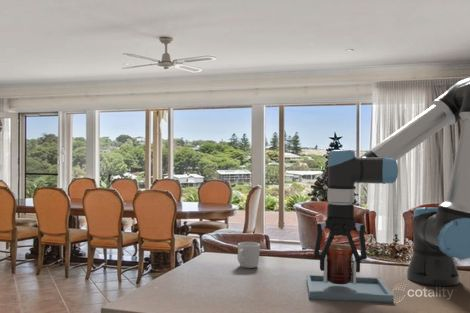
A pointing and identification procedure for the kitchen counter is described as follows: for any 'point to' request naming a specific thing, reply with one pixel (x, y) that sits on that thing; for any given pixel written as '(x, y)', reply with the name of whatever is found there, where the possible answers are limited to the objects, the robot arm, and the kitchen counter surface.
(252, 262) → the cup
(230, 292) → the kitchen counter surface
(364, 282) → the tray
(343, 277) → the mug
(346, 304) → the kitchen counter surface
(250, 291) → the kitchen counter surface
